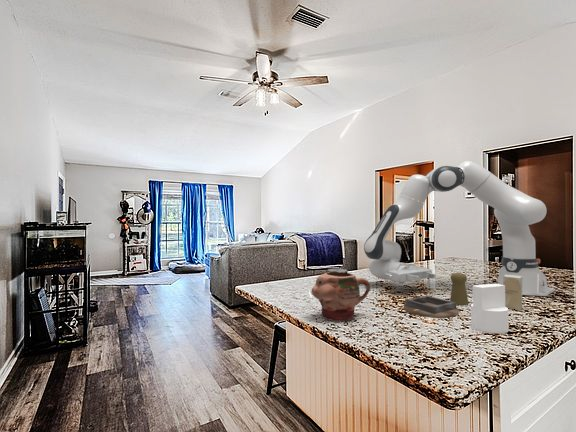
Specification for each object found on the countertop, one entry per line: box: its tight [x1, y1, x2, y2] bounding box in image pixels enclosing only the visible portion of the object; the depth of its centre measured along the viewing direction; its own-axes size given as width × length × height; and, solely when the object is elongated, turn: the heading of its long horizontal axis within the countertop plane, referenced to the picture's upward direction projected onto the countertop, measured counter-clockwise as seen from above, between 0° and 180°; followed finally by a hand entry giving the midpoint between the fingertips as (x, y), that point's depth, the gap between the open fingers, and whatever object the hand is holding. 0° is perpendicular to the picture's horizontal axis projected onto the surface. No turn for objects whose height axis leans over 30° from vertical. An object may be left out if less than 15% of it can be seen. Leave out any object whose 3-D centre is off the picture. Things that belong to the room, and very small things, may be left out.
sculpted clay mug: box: [311, 271, 371, 322], centre depth 103 cm, size 20×12×14 cm, turn 110°
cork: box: [449, 272, 469, 306], centre depth 117 cm, size 6×6×11 cm
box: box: [503, 275, 523, 311], centre depth 110 cm, size 5×4×11 cm
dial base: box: [403, 295, 460, 319], centre depth 109 cm, size 17×17×3 cm
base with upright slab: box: [470, 283, 510, 334], centre depth 91 cm, size 9×9×12 cm
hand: (426, 277), depth 128 cm, fingers open, 8 cm apart
